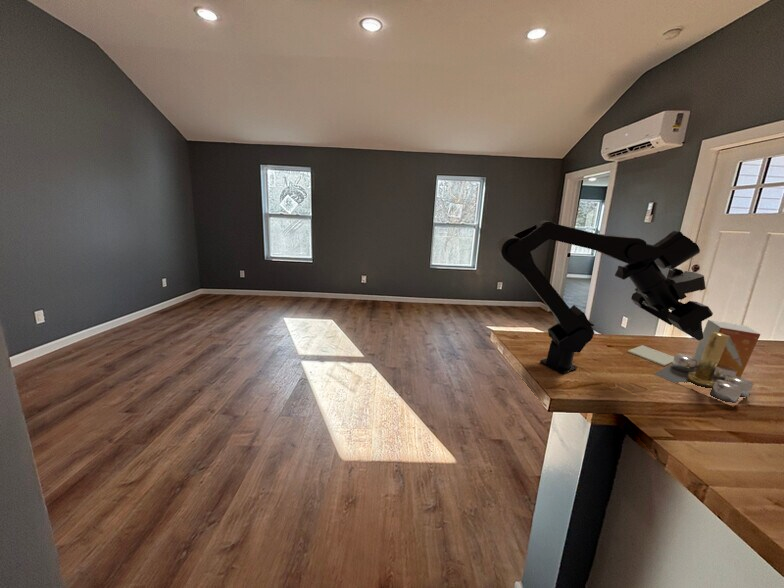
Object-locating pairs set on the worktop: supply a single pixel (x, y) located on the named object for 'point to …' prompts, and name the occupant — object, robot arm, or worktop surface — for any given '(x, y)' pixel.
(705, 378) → the brass pin
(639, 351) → the coaster
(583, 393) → the worktop surface
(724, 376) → the spacers
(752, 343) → the small box
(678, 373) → the mat
